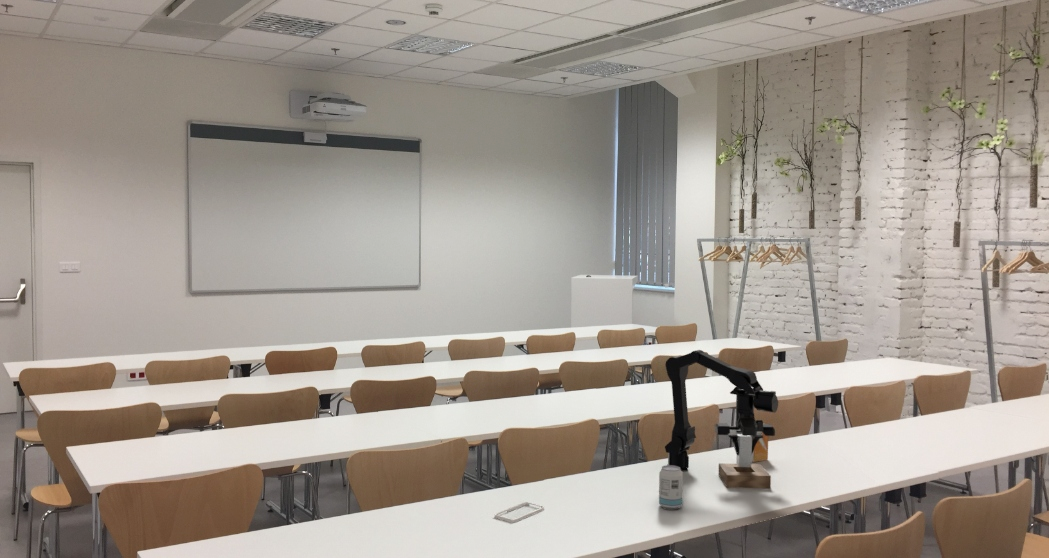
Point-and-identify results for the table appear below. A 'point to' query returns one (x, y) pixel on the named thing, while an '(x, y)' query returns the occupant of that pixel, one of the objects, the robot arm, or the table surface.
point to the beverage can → (670, 487)
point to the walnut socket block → (744, 476)
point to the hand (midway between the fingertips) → (744, 455)
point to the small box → (760, 449)
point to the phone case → (520, 516)
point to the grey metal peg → (744, 450)
